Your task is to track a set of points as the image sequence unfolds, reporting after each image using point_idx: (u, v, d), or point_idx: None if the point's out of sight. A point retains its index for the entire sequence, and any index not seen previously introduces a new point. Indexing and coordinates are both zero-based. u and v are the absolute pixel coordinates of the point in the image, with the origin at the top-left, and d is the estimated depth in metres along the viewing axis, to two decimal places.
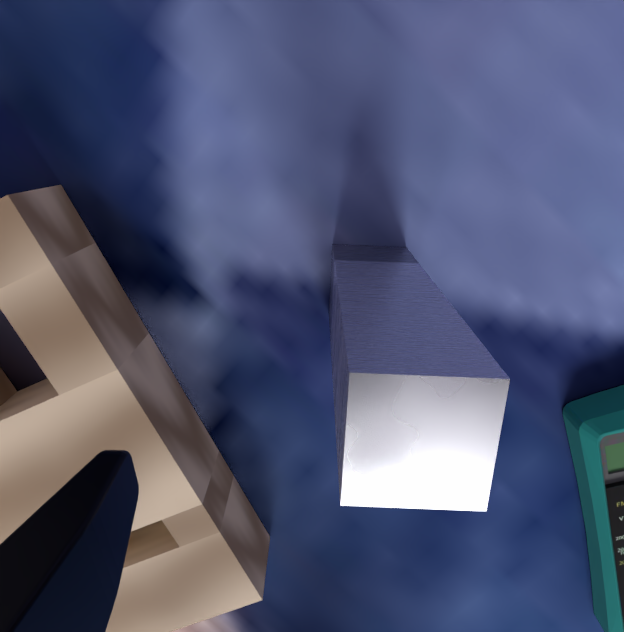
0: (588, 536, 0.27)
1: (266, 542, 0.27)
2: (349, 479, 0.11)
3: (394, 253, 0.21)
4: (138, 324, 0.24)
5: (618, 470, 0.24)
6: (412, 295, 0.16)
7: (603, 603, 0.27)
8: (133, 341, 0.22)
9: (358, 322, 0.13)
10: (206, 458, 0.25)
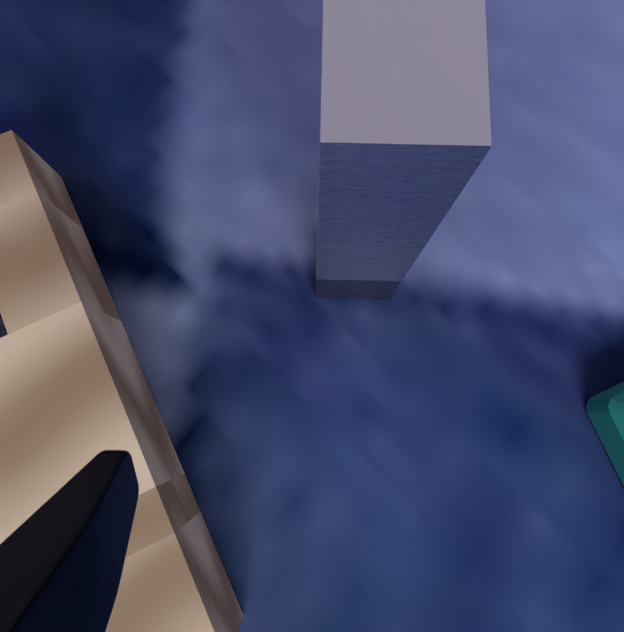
0: None
1: (238, 615, 0.20)
2: (329, 109, 0.10)
3: None
4: (111, 305, 0.22)
5: None
6: None
7: None
8: (103, 307, 0.21)
9: None
10: (168, 461, 0.20)
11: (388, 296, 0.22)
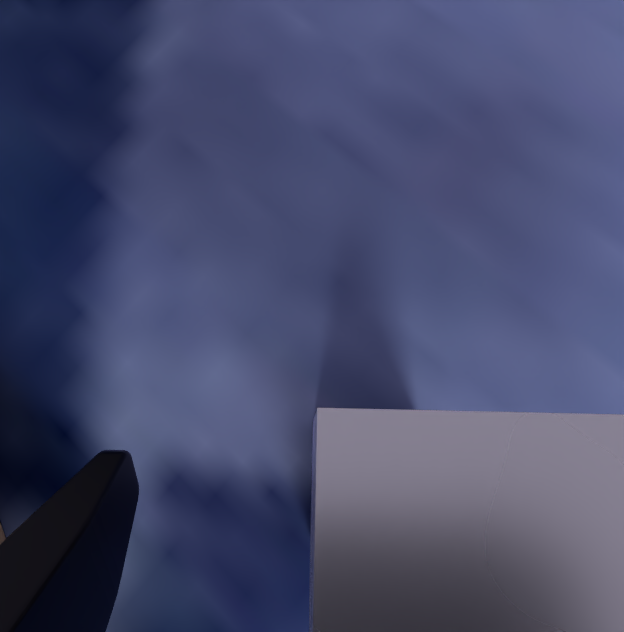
0: None
1: None
2: None
3: None
4: None
5: None
6: None
7: None
8: None
9: None
10: None
11: None
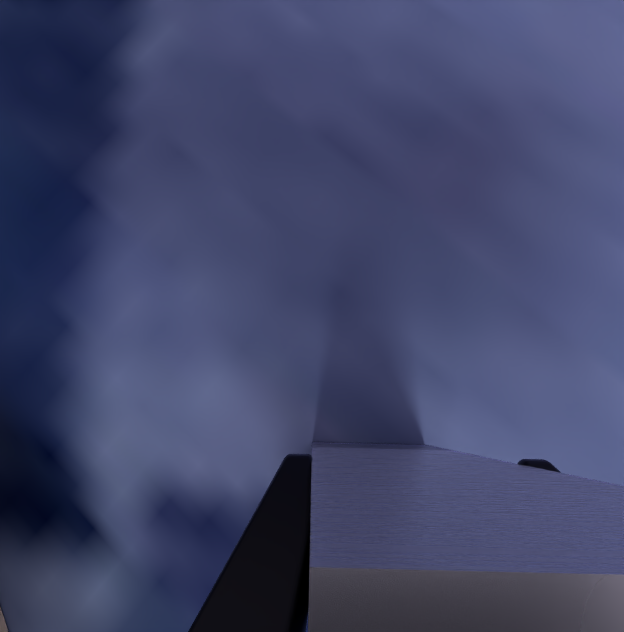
0: None
1: None
2: None
3: (409, 446, 0.13)
4: None
5: None
6: (463, 465, 0.08)
7: None
8: None
9: (352, 483, 0.05)
10: None
11: None
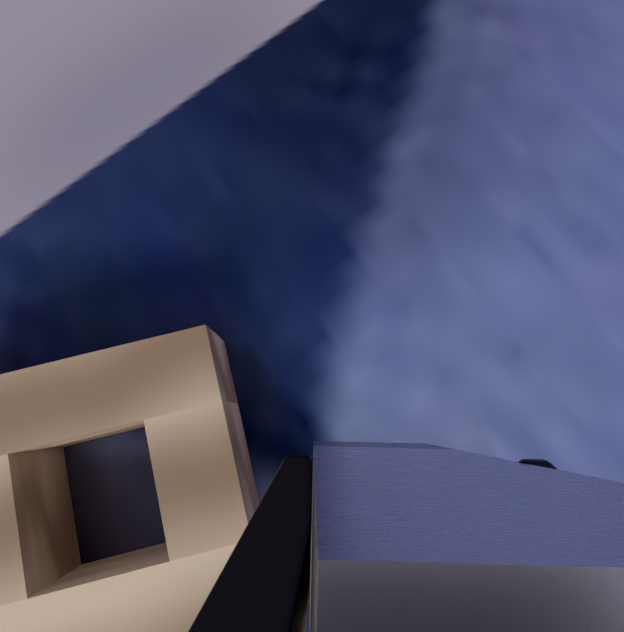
0: None
1: None
2: None
3: (410, 445, 0.13)
4: (257, 502, 0.21)
5: None
6: (465, 464, 0.08)
7: None
8: None
9: (355, 480, 0.05)
10: None
11: None
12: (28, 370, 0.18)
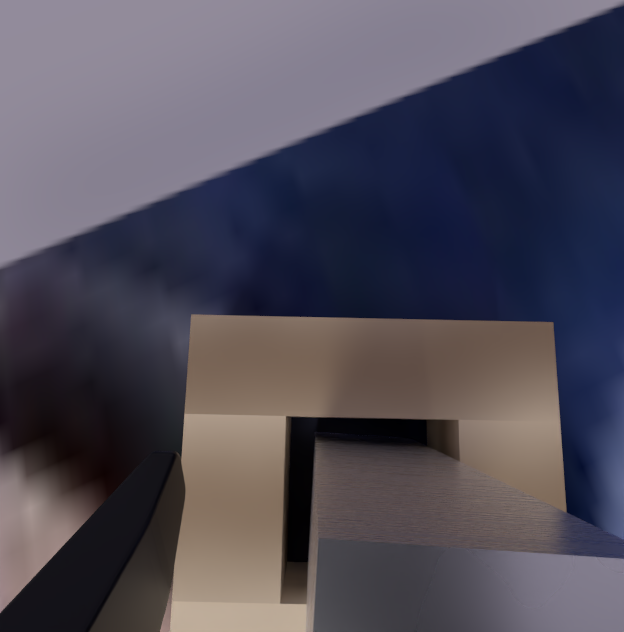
0: None
1: None
2: None
3: (395, 440, 0.16)
4: None
5: None
6: (427, 467, 0.10)
7: None
8: None
9: (343, 484, 0.08)
10: None
11: None
12: (326, 321, 0.15)
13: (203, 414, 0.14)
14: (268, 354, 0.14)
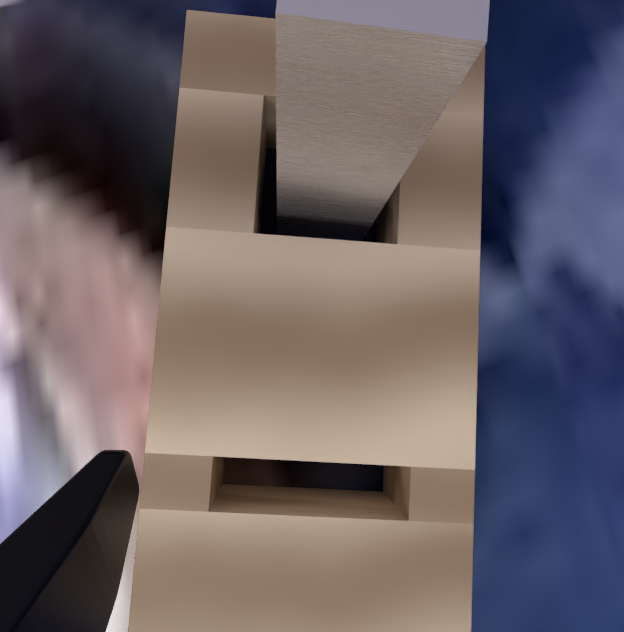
0: None
1: None
2: None
3: None
4: None
5: None
6: None
7: None
8: None
9: None
10: None
11: None
12: None
13: (195, 89, 0.17)
14: (250, 46, 0.17)
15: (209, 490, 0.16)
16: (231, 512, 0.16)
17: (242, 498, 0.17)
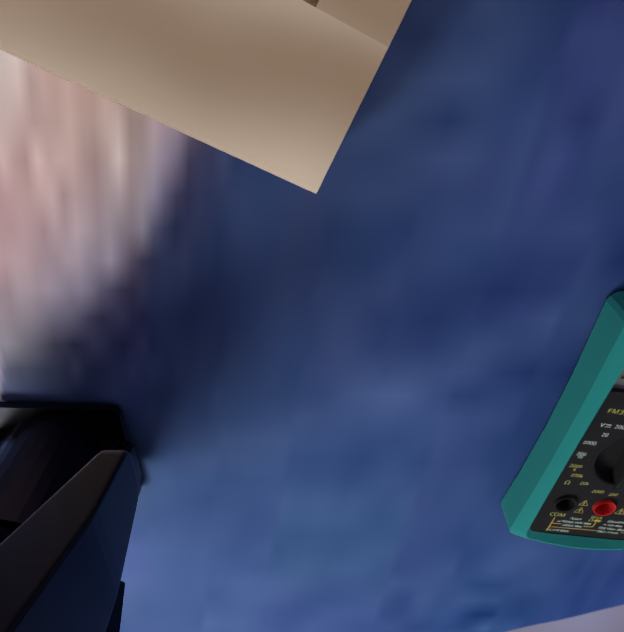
0: (546, 432, 0.25)
1: None
2: None
3: None
4: None
5: None
6: None
7: (525, 495, 0.26)
8: None
9: None
10: None
11: None
12: None
13: None
14: None
15: None
16: None
17: None
